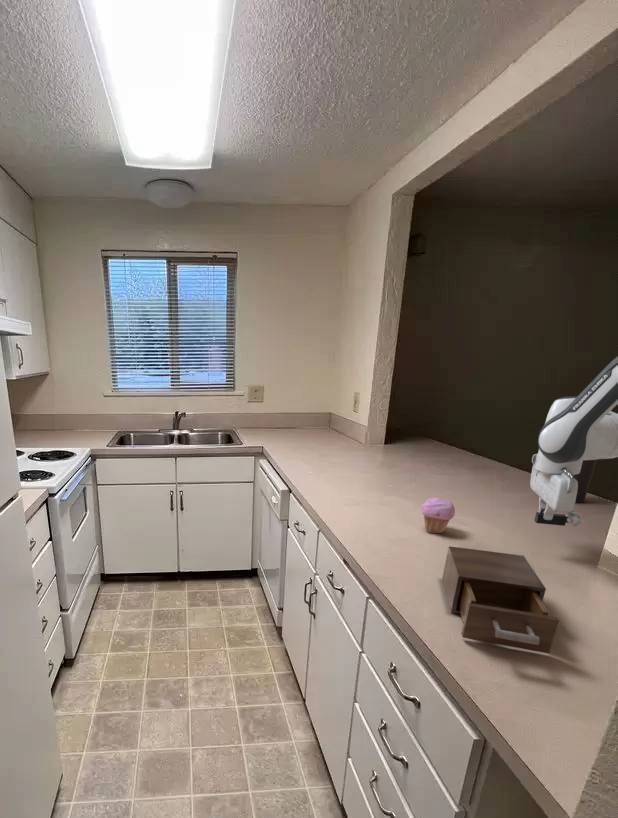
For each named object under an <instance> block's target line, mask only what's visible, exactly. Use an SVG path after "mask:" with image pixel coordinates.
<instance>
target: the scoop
mask: <svg viewBox="0 0 618 818" xmlns="http://www.w3.org/2000/svg"><path fill="white" fill-rule="evenodd" d="M542 515H543V513H541V512H538V511H536V513H535V516H534V522H535V523H536V524H541V525H542V524H543V525H553V526H560V527H561V526H562V527H563V526H564V527H565V526H566V525H568V526H571V527H575V526H579V525H580V524H581V523H583V515H582V514H581V513H580V512H578V511H573V510H572V511H571V512H566V513H565V514H562V513H554V515H553V519H552V520H545V519H544V518H543V517H542Z"/></svg>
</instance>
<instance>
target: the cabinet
mask: <svg viewBox="0 0 618 818" xmlns="http://www.w3.org/2000/svg"><path fill="white" fill-rule="evenodd" d="M441 580H442V584H443V588H444V592H445V595H446V600H447V604H448V607H449V611H450V614H454V615H460V616H461V614H460V610H459V607H458V604H457V603H458V598H459V593H460V589H461V584H462V580H465V581H472V582H479V583H486V584H492V585H499V586H506V587H513V588H520V589H526V590H533V591H536V593H537V595H538V596H539V598H540V599H541V601H542V602H543V600H544V597H545V594H546V590H547V588H546V586H545V585H544V583H543V581H541V579H540V578H539V576H538V575H537V573H536V572H535V570H534V569H533V567H532V566H531V564H530V563H529V561H528V560H527V558H526V557H525V556H524V555H521V554H514V553H505V552H498V551H490V550H481V549H475V548H467V547H458V546H450V545H449V546H448V547H447V553H446V558H445V562H444V568H443V572H442V578H441Z"/></svg>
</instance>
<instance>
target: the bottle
mask: <svg viewBox="0 0 618 818" xmlns="http://www.w3.org/2000/svg"><path fill="white" fill-rule="evenodd" d="M597 461H598V459H597V460H583V462H582V466H581V470H580V473H579V474H576V475H574V476H573V478H574V479H576V480H577V482H578V490H577V496H576V501H575V504H582V503H584V502H585V500H586V497H587V494H588V491H589V487H590V484H591V480H592V477H593V474H594V470H595V467H596V465H597Z"/></svg>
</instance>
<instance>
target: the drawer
mask: <svg viewBox="0 0 618 818" xmlns="http://www.w3.org/2000/svg"><path fill="white" fill-rule="evenodd" d="M457 604H458V607H459V610H460V614H461V615H460V614H459V615H460V617H461V621H462V624H463V626H462V631H461V637H462V638H463V639H468V640H474V641H479V642H486V643H490V644H496V645H501V646H507V647H511V648H518V649H522V650H528V651H533V652H538V653H539V652H540V653H544V654H550V651H551V648H552V645H553V642H554V638H555V635H556V632H557V629H558V626H559V622H560V620H559V618H558V617H557V616H555V615H554V616H553V615H550V613H549V611H548V609H547V607H546V606H545V604H544V603H543V601H541V599H540V598H539V596H538V595H537V593H536V591H533V590H526V589H520V588H513V587H506V586H499V585H492V584H486V583H479V582H472V581H465V580H462V584H461V589H460V593H459V598H458V603H457Z"/></svg>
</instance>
